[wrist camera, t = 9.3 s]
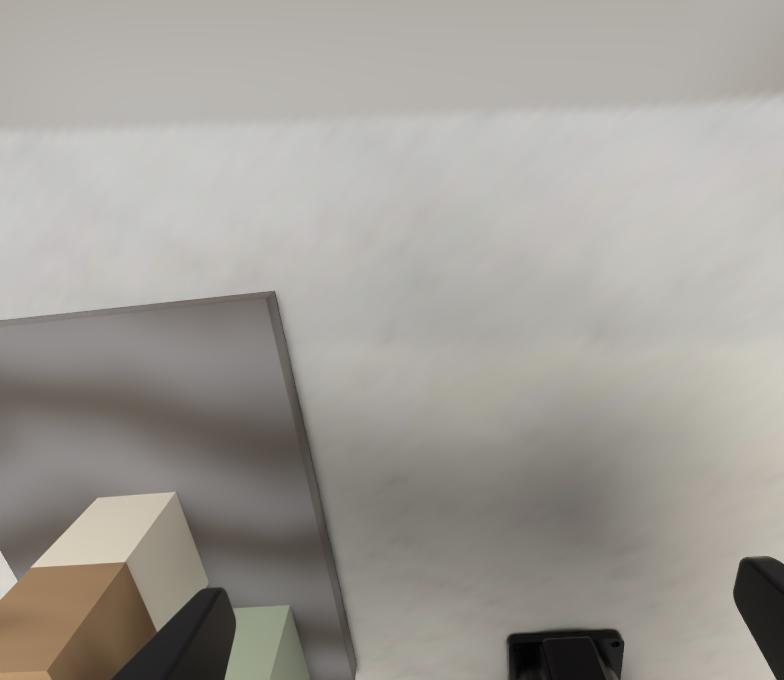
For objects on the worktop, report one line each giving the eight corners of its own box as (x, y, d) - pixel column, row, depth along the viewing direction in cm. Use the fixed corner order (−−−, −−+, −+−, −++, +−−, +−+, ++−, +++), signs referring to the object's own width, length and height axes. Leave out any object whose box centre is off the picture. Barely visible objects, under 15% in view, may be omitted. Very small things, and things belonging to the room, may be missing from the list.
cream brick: (208, 582, 23) (170, 662, 19) (137, 586, 23) (85, 665, 19) (175, 491, 21) (124, 561, 17) (97, 497, 21) (30, 567, 17)
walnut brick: (170, 662, 19) (113, 781, 15) (85, 665, 19) (9, 783, 16) (125, 561, 17) (46, 670, 13) (31, 567, 17) (-73, 676, 13)
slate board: (356, 664, 27) (354, 686, 25) (98, 676, 28) (85, 697, 27) (274, 290, 18) (265, 298, 17) (-92, 330, 19) (-122, 339, 18)
